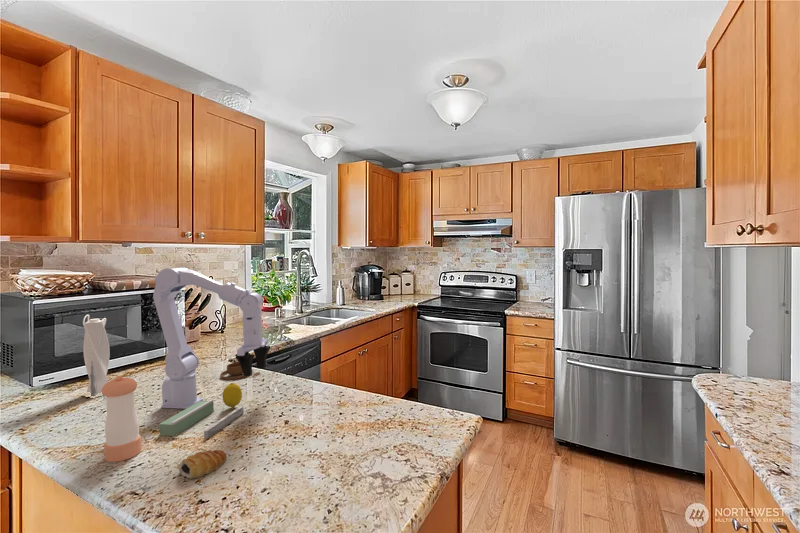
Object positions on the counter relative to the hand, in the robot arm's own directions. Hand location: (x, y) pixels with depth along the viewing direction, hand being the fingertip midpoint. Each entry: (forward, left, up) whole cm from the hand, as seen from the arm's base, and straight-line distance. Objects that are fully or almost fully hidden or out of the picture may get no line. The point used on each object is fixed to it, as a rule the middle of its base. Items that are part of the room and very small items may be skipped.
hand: (254, 371), depth 127 cm
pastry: (+10, -38, -10) cm, 41 cm away
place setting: (-22, +28, -10) cm, 37 cm away
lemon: (-4, -6, -10) cm, 12 cm away
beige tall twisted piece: (-61, 0, -10) cm, 62 cm away
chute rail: (+1, -17, -10) cm, 20 cm away
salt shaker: (-14, -35, -10) cm, 39 cm away
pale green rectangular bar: (-11, -17, -10) cm, 22 cm away
